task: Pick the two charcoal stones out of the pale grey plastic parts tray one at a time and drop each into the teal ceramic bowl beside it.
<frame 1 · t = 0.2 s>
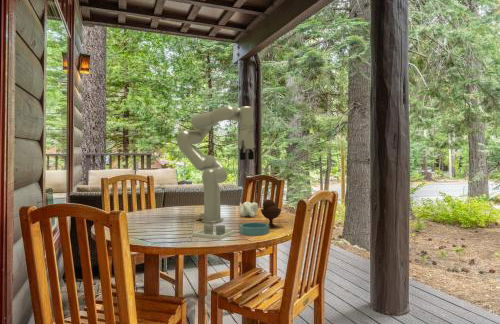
hand: (247, 159, 199), 36 cm above the table, tool pointing down, fingers open, 9 cm apart
parts tray: (214, 235, 174), on the table
ice cream bowl: (271, 227, 194), on the table
stone a: (220, 235, 172), resting on parts tray
bowl: (254, 233, 178), on the table
stone b: (208, 234, 175), resting on parts tray
white lumpy chunk: (250, 216, 228), on the table
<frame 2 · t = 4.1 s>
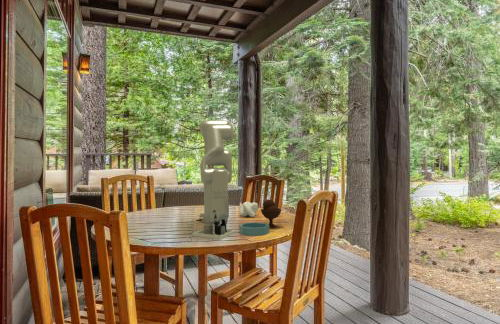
hand: (220, 232, 172), 2 cm above the table, tool pointing down, fingers closed on stone a, 4 cm apart
stone a: (220, 235, 172), resting on parts tray, touching gripper
everything else where it was.
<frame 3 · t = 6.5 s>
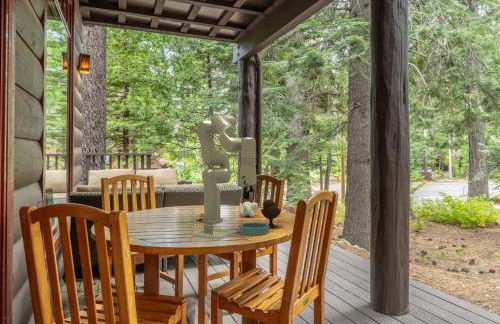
hand: (248, 198, 179), 17 cm above the table, tool pointing down, fingers closed on stone a, 4 cm apart
stone a: (248, 201, 179), point 16 cm above the table, touching gripper
everything else where it was.
when the fingers open (4 cm above the table, at t = 9.3 s): stone a drops 2 cm, resting on bowl.
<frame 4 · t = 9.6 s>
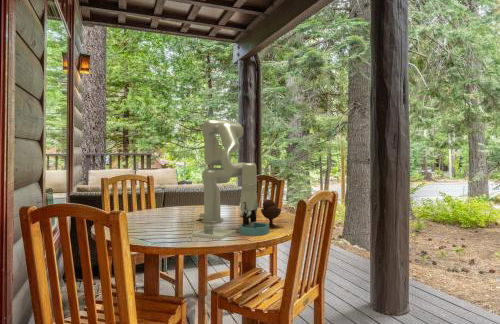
hand: (249, 222, 179), 5 cm above the table, tool pointing down, fingers open, 7 cm apart
stone a: (249, 231, 179), point 1 cm above the table, touching bowl
everything else where it was.
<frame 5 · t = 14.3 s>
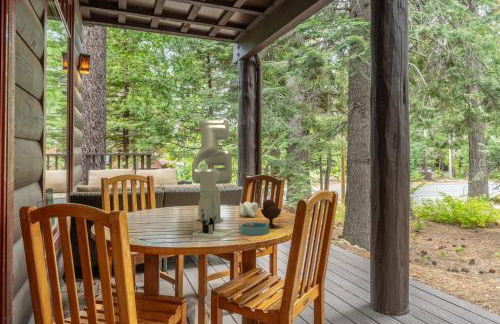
hand: (208, 231, 175), 2 cm above the table, tool pointing down, fingers closed on stone b, 4 cm apart
stone b: (208, 234, 175), resting on parts tray, touching gripper
everything else where it was.
when the fingers open (4 cm above the table, at t = 20.0 s): stone b drops 2 cm, resting on bowl.
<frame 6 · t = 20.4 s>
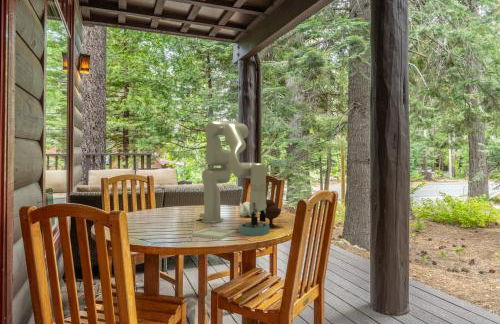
hand: (258, 223, 177), 5 cm above the table, tool pointing down, fingers open, 8 cm apart
stone b: (258, 232, 177), point 1 cm above the table, touching bowl
everything else where it was.
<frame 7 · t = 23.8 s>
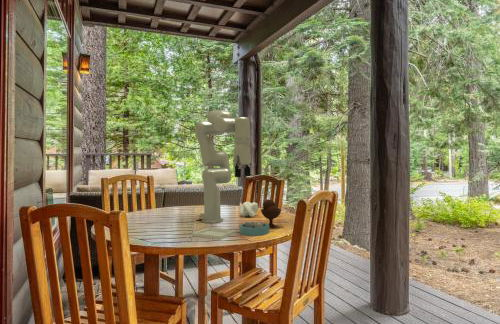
hand: (242, 176, 178), 28 cm above the table, tool pointing down, fingers open, 9 cm apart
nothing on the table moved.
at the end: stone a inside the target area on the bowl (2.5 cm from its centre), point 0.8 cm above the bowl's base; stone b inside the target area on the bowl (2.5 cm from its centre), point 0.8 cm above the bowl's base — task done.
